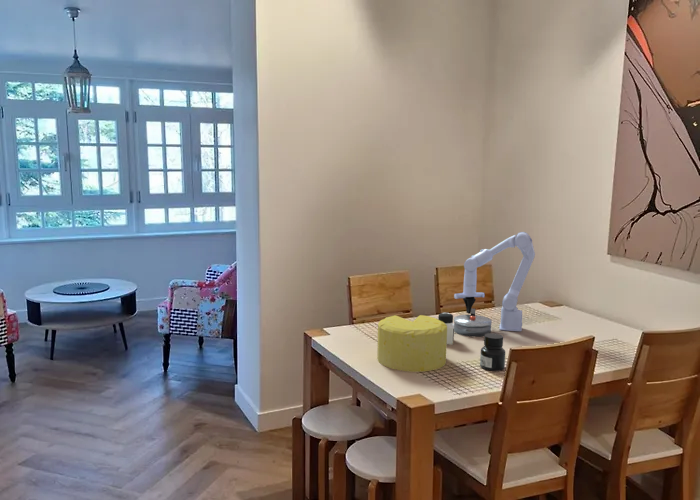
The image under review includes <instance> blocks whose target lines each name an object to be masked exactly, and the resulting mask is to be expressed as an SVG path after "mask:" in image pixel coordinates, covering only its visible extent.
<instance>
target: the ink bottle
mask: <svg viewBox="0 0 700 500" xmlns="http://www.w3.org/2000/svg"><path fill="white" fill-rule="evenodd" d="M483 338H484V339H483V340H484V341H483V346H482V347H481V349H480V358H479V362H480V363H479V366H480V367H481V368H482V369H483V370H487V371H493V372H494V371H498V372H499V371H502V370H504V369H505V367H506V350H505V349H504V348H503V346H504V335H502V334H499V333H493V332H491V333H488V334H485V335H484V336H483Z"/></svg>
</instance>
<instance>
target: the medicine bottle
mask: <svg viewBox="0 0 700 500" xmlns="http://www.w3.org/2000/svg"><path fill="white" fill-rule="evenodd" d="M437 319H438V320H440V321H443V322H444V323H445V324H446V325H447V345H453V344H454V340H455V339H454V338H455V336H454V335H455V332H454V315H453V314H452V313H449V312H442V313H439V314H438V316H437Z"/></svg>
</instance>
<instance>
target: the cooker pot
mask: <svg viewBox="0 0 700 500" xmlns="http://www.w3.org/2000/svg"><path fill="white" fill-rule="evenodd" d="M453 324H454V334H455V333H456V335H461V336H465V337H470V338H471V337H472V338H474V337H475V338H484V335H485V334H488V333H492V332H491V331H492V324H491V325H490V326H487V327H466V326H462V325H458V324H456V323H455V322H454V321H453Z"/></svg>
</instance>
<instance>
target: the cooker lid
mask: <svg viewBox="0 0 700 500" xmlns="http://www.w3.org/2000/svg"><path fill="white" fill-rule="evenodd" d="M492 321H493V320H492V319H491V318H489V317H488V316H485V315H484V316H483V315H478V314H476V308H473V307H472V308H471V313H470V314H461V315H460V314H459V315H457V316H453V323H454V322H455V323H456V324H458V325H462V326H466V327H487V326H490V325H491V326H492V324H493V322H492Z"/></svg>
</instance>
